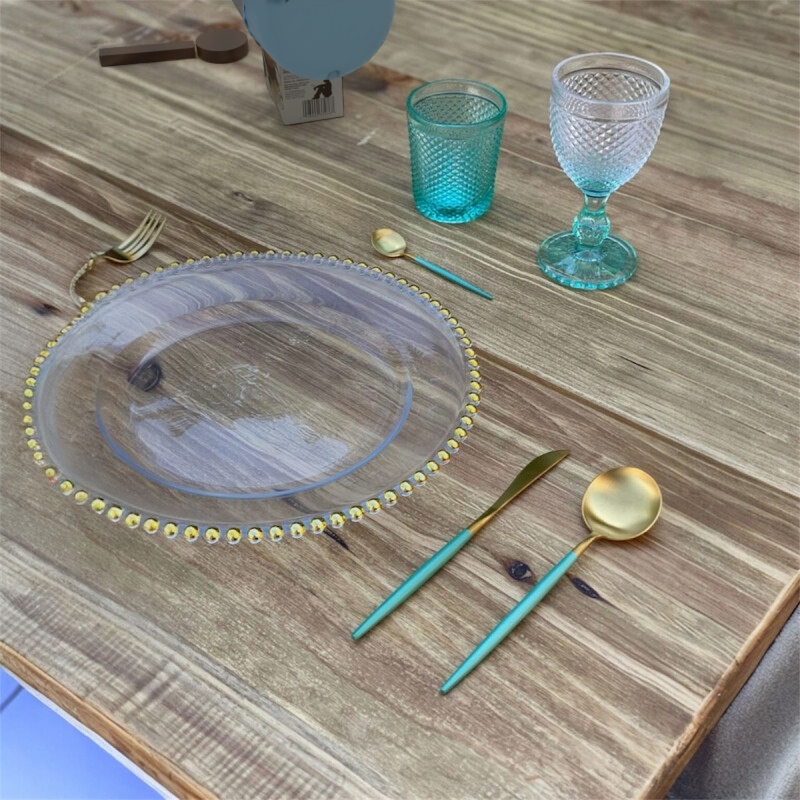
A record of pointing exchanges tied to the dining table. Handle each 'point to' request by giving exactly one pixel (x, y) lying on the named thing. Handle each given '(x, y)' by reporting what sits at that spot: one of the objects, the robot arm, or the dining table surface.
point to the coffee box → (302, 94)
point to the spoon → (183, 49)
